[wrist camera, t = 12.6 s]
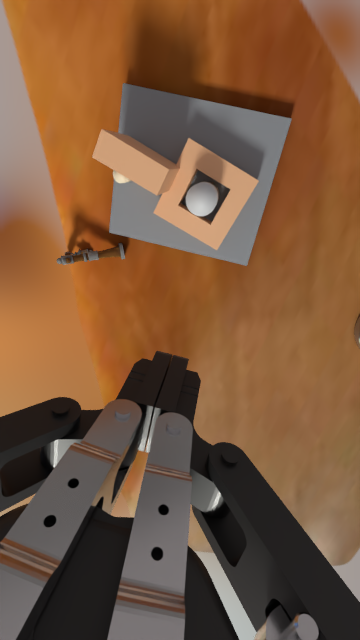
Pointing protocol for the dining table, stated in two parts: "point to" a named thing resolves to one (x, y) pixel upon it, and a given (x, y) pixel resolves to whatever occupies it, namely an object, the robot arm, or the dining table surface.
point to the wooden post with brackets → (91, 255)
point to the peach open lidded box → (178, 182)
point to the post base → (204, 192)
